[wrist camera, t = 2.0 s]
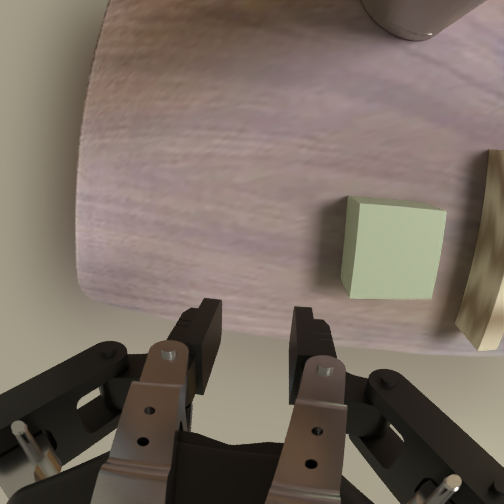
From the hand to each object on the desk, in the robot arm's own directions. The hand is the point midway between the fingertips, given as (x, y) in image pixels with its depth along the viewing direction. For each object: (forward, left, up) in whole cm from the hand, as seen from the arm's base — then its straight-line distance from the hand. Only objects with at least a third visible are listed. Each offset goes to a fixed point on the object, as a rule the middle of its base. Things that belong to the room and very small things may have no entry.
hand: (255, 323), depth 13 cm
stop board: (-1, +24, -17) cm, 30 cm away
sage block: (0, +11, -17) cm, 21 cm away
